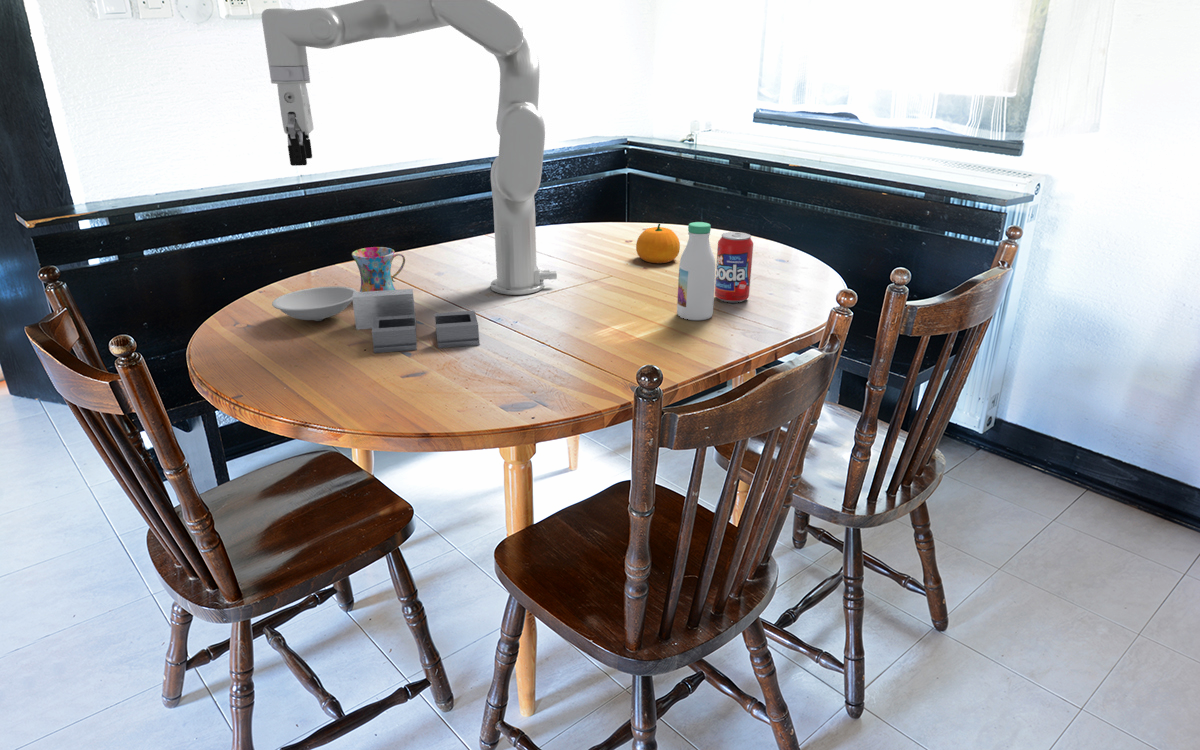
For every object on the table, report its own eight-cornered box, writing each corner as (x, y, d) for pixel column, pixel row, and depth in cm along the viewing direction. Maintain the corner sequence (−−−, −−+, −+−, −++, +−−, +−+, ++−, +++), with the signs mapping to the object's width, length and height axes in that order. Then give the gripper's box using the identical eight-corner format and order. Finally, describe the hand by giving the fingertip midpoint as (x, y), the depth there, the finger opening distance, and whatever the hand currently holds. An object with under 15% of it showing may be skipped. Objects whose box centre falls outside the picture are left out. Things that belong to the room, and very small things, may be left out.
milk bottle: (715, 312, 174) (721, 221, 166) (708, 323, 167) (714, 229, 159) (681, 308, 176) (685, 218, 168) (672, 319, 170) (676, 226, 162)
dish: (292, 338, 158) (288, 315, 156) (264, 320, 168) (260, 298, 166) (373, 319, 169) (370, 296, 167) (342, 303, 178) (340, 281, 176)
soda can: (752, 296, 184) (758, 233, 178) (743, 306, 177) (748, 240, 171) (720, 292, 187) (724, 229, 181) (709, 301, 180) (713, 236, 174)
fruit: (686, 258, 215) (688, 222, 211) (666, 268, 206) (668, 230, 202) (649, 252, 220) (650, 216, 216) (627, 262, 211) (628, 224, 207)
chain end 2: (475, 327, 164) (474, 309, 162) (479, 345, 155) (478, 325, 153) (436, 330, 162) (434, 312, 161) (438, 348, 153) (436, 328, 152)
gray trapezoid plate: (415, 319, 169) (412, 288, 166) (416, 325, 165) (412, 293, 163) (357, 323, 166) (353, 291, 164) (356, 330, 163) (352, 297, 160)
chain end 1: (416, 332, 161) (414, 313, 160) (416, 349, 153) (415, 330, 151) (375, 335, 160) (373, 316, 158) (373, 353, 151) (371, 333, 149)
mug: (366, 306, 177) (361, 259, 172) (351, 295, 183) (345, 250, 179) (416, 296, 183) (412, 251, 179) (399, 286, 190) (395, 243, 186)
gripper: (304, 77, 154) (316, 167, 161) (313, 73, 169) (324, 155, 176) (263, 77, 152) (276, 168, 159) (276, 73, 168) (288, 156, 175)
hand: (301, 161), depth 168 cm, fingers open, 9 cm apart
